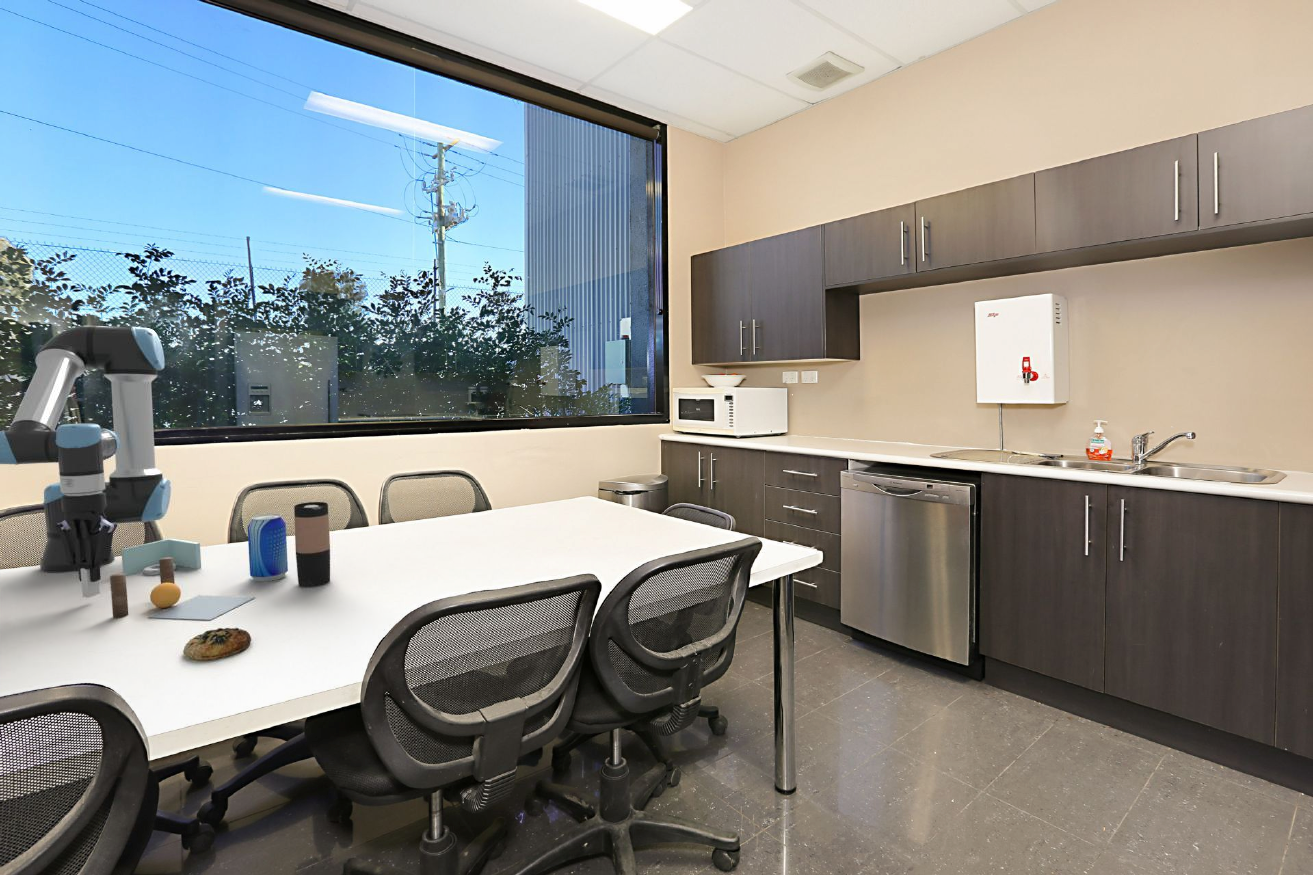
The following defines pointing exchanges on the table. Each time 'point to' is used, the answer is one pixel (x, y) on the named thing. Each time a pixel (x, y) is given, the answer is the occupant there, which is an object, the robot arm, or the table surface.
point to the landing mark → (202, 607)
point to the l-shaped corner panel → (160, 556)
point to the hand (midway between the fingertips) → (91, 595)
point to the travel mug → (312, 543)
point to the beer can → (267, 547)
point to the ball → (165, 595)
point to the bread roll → (217, 644)
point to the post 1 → (119, 595)
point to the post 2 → (166, 570)
